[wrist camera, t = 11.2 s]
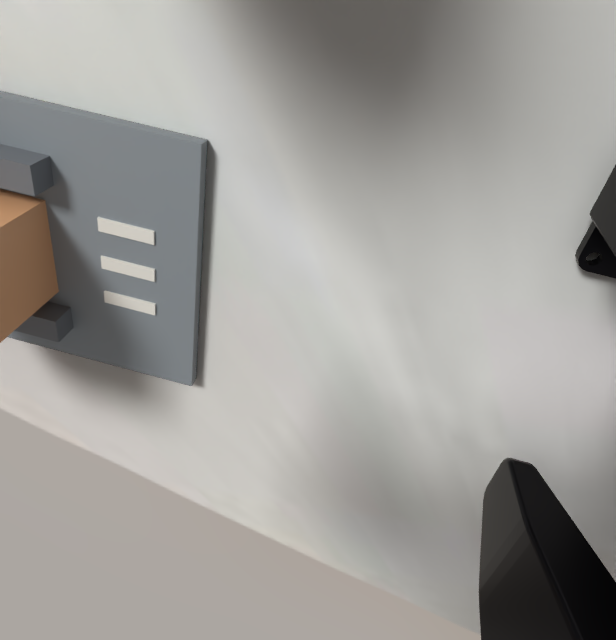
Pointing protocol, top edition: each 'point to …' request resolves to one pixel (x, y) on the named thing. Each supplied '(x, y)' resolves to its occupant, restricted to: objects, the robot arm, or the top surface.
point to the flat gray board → (112, 233)
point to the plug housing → (24, 259)
